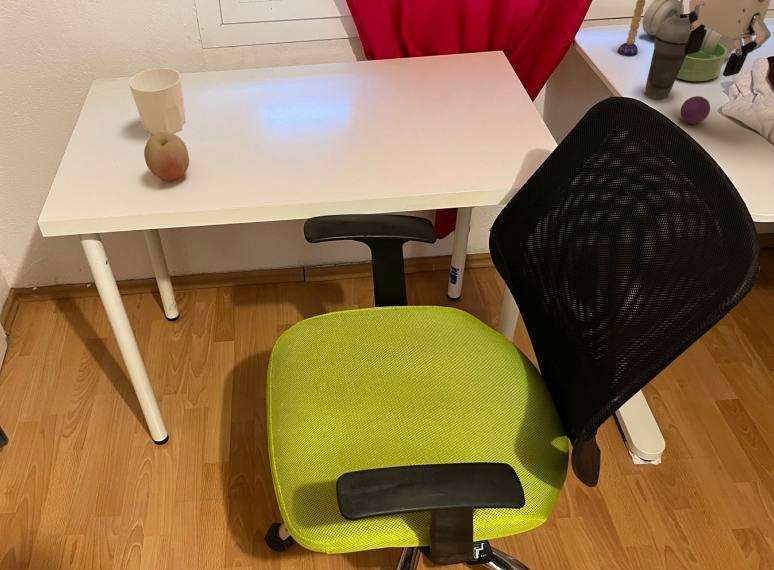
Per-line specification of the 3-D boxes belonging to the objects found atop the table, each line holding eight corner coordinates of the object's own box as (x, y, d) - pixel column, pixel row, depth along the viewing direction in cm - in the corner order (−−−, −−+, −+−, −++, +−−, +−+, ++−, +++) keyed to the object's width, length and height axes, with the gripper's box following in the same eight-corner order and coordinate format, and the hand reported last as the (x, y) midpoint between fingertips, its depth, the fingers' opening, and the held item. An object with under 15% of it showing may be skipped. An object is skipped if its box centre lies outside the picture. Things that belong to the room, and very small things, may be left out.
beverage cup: (662, 106, 137) (698, 0, 122) (630, 94, 141) (661, -10, 126) (682, 94, 140) (719, -11, 125) (650, 82, 144) (682, -20, 129)
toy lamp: (612, 49, 156) (633, -31, 144) (630, 45, 156) (653, -34, 144) (624, 57, 152) (647, -24, 140) (642, 54, 153) (667, -27, 141)
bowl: (729, 76, 144) (739, 53, 140) (687, 87, 141) (696, 63, 138) (692, 56, 151) (700, 33, 147) (651, 66, 149) (658, 43, 145)
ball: (710, 125, 131) (720, 100, 127) (689, 131, 130) (698, 106, 126) (691, 113, 134) (700, 89, 130) (670, 119, 133) (679, 94, 129)
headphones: (734, 58, 149) (772, -39, 135) (706, 67, 147) (743, -30, 133) (662, 28, 162) (691, -64, 148) (636, 36, 159) (662, -56, 145)
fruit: (148, 189, 124) (137, 150, 118) (151, 166, 130) (142, 127, 124) (191, 185, 124) (183, 146, 119) (193, 162, 130) (185, 123, 124)
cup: (131, 126, 141) (119, 79, 134) (173, 109, 145) (163, 63, 138) (156, 144, 135) (145, 96, 128) (198, 126, 139) (190, 79, 132)
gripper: (812, -27, 107) (763, 79, 119) (729, -59, 118) (692, 41, 130) (775, -19, 105) (729, 87, 117) (694, -52, 116) (660, 48, 128)
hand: (710, 63), depth 124 cm, fingers open, 9 cm apart
